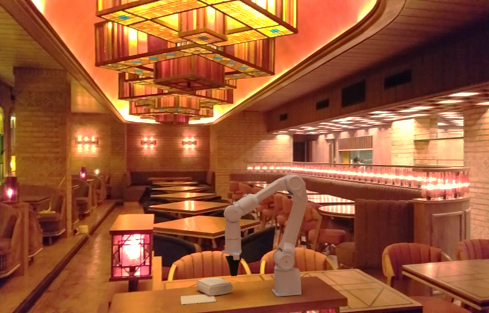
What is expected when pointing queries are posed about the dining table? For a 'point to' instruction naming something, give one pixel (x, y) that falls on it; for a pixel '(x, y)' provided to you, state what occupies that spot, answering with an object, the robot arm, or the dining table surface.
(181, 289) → the dining table surface
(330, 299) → the dining table surface
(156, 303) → the dining table surface
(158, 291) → the dining table surface
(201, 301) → the mat
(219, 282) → the photo printer
